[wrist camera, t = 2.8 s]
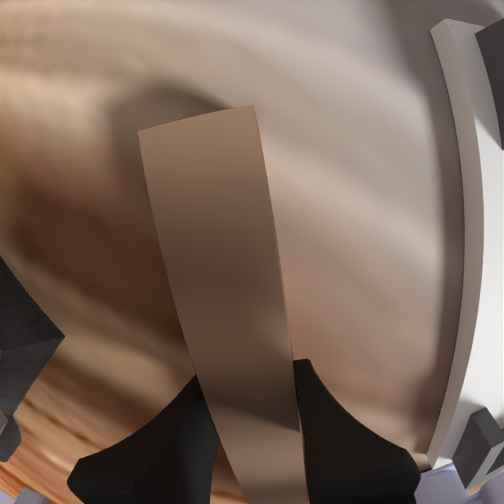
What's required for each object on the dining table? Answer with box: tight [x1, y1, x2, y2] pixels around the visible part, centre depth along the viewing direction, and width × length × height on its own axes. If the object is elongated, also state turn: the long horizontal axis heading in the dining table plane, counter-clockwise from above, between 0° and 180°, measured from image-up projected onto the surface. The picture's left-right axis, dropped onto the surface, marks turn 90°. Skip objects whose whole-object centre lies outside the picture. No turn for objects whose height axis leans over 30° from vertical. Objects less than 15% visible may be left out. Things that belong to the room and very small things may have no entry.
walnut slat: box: [138, 105, 308, 504], centre depth 12 cm, size 20×3×4 cm, turn 10°
